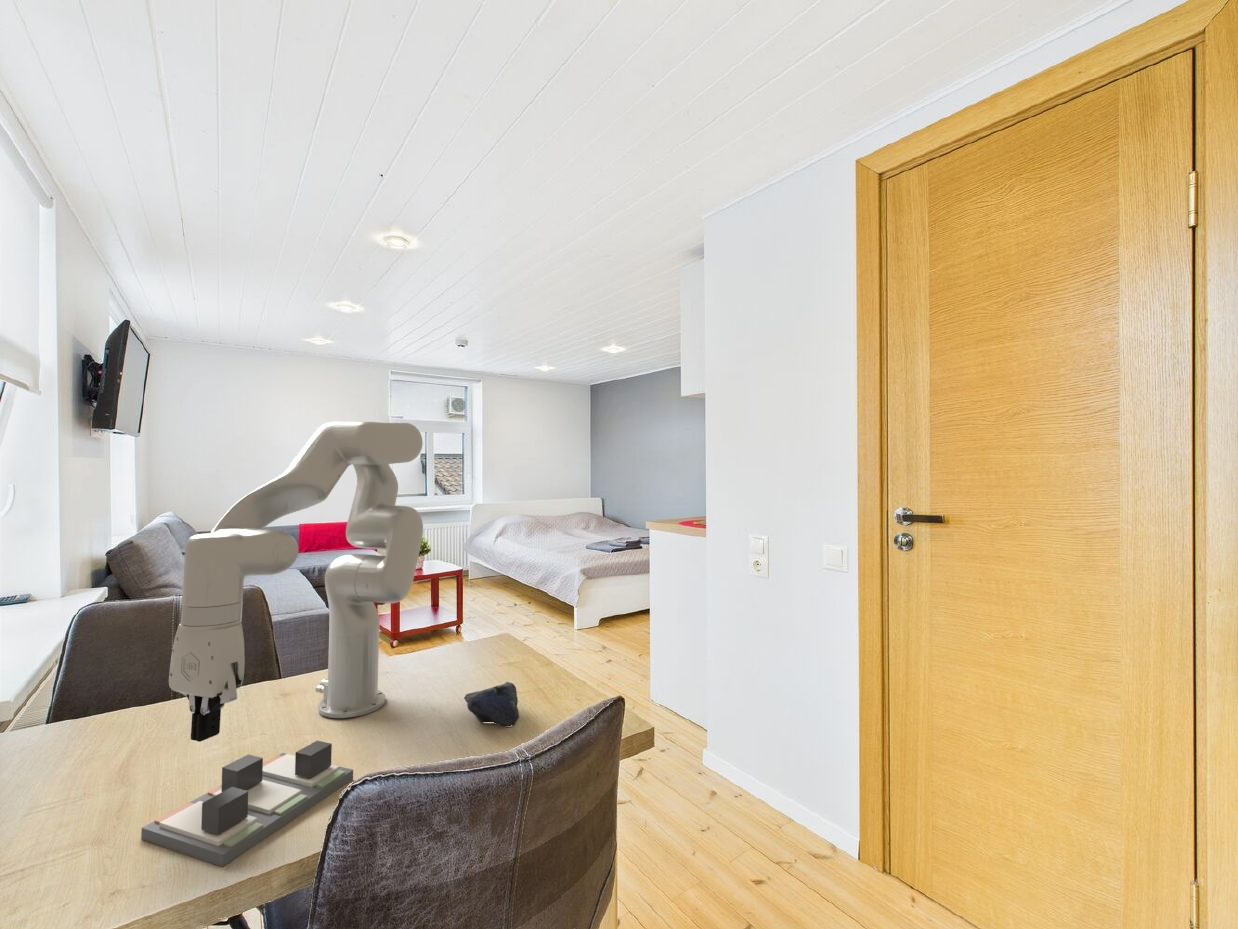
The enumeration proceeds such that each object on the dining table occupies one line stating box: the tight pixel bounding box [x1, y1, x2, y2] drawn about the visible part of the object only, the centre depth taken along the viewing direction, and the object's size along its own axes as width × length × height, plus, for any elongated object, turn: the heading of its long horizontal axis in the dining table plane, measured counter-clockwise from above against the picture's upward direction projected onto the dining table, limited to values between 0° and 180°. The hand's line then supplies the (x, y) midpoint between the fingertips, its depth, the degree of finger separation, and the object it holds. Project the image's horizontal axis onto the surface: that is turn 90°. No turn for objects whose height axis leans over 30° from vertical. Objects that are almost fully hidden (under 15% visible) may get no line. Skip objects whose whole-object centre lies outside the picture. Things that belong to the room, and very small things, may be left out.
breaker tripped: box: [221, 754, 264, 792], centre depth 82 cm, size 3×4×4 cm
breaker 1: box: [201, 787, 248, 835], centre depth 74 cm, size 3×4×4 cm
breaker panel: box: [140, 752, 354, 868], centre depth 81 cm, size 15×21×2 cm
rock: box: [463, 681, 520, 727], centre depth 112 cm, size 16×8×10 cm
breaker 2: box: [294, 740, 333, 779], centre depth 87 cm, size 3×4×4 cm
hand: (205, 737), depth 84 cm, fingers closed
